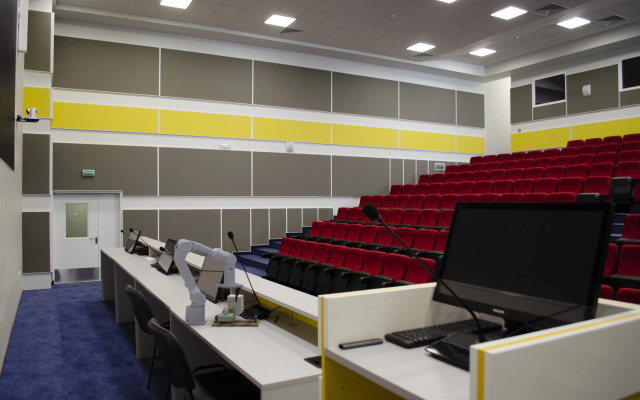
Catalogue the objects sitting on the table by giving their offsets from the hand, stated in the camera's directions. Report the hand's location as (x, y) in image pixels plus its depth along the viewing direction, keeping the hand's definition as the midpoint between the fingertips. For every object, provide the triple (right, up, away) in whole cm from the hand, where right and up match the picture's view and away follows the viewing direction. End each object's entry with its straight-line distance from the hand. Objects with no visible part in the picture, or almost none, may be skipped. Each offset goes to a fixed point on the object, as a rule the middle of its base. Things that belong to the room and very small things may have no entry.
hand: (229, 301), depth 243 cm
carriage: (0, -7, -9) cm, 11 cm away
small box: (+1, -10, +11) cm, 15 cm away
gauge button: (0, -4, 0) cm, 4 cm away
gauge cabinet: (0, -9, 0) cm, 9 cm away
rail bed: (+5, -10, -9) cm, 14 cm away
